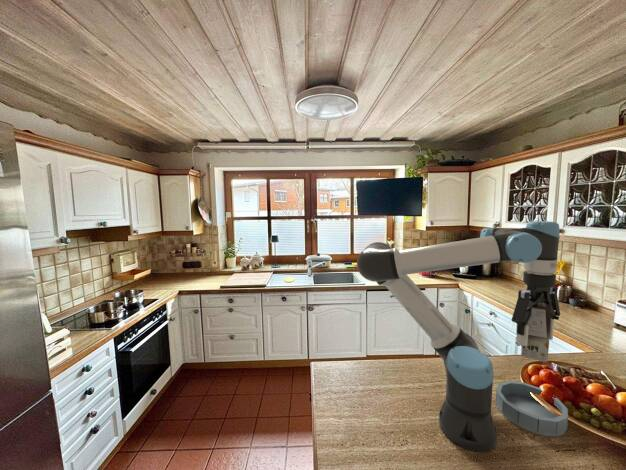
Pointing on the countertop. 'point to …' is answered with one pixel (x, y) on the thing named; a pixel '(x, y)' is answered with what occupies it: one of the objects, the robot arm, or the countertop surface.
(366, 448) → the countertop surface
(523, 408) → the bowl
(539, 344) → the coffee box
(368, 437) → the countertop surface
